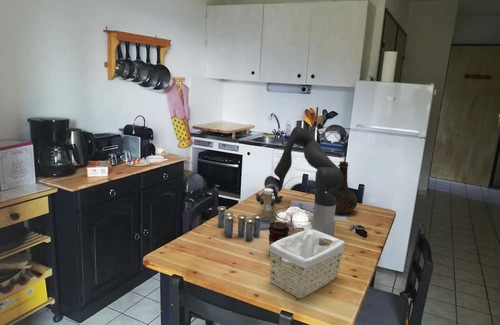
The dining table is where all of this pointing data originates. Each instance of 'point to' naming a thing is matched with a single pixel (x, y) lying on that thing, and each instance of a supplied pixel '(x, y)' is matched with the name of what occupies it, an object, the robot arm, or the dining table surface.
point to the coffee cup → (277, 232)
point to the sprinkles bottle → (267, 202)
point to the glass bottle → (344, 194)
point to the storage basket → (304, 262)
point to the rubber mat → (266, 222)
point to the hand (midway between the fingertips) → (267, 203)
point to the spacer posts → (239, 224)
